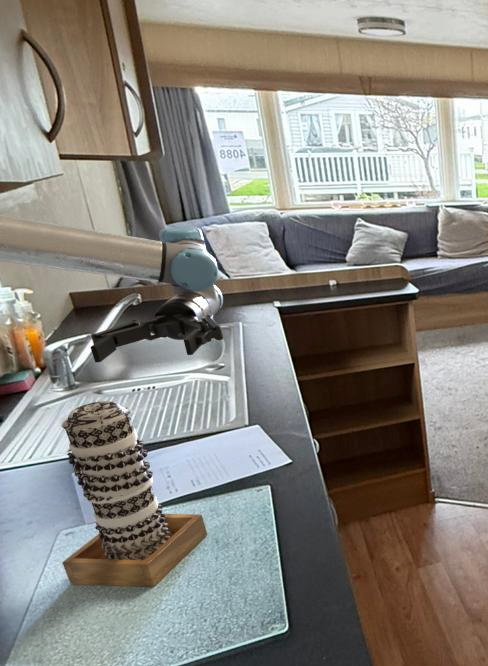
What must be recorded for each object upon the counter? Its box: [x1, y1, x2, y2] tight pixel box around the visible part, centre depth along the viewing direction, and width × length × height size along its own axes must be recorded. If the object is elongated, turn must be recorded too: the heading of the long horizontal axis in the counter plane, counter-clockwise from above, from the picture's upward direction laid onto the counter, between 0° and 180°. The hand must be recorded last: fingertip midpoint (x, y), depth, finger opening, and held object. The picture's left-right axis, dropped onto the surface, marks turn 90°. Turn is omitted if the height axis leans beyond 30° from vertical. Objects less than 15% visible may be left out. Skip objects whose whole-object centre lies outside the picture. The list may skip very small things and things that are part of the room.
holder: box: [61, 513, 208, 588], centre depth 102 cm, size 13×13×4 cm
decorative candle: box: [60, 400, 171, 560], centre depth 97 cm, size 9×9×25 cm
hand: (142, 351), depth 108 cm, fingers open, 13 cm apart
